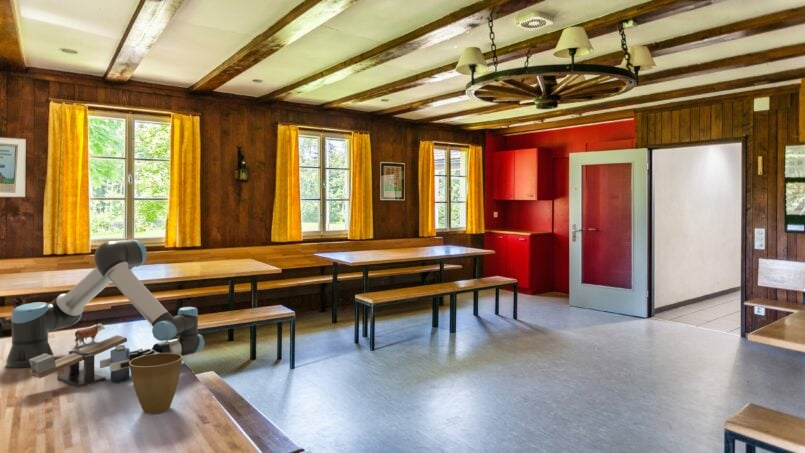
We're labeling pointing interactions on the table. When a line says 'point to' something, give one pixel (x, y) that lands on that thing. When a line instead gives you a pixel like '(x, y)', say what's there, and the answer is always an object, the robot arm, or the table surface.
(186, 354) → the robot arm
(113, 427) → the table surface
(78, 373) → the stand
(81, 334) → the bull figurine
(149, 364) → the plant pot
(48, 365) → the beam
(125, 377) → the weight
